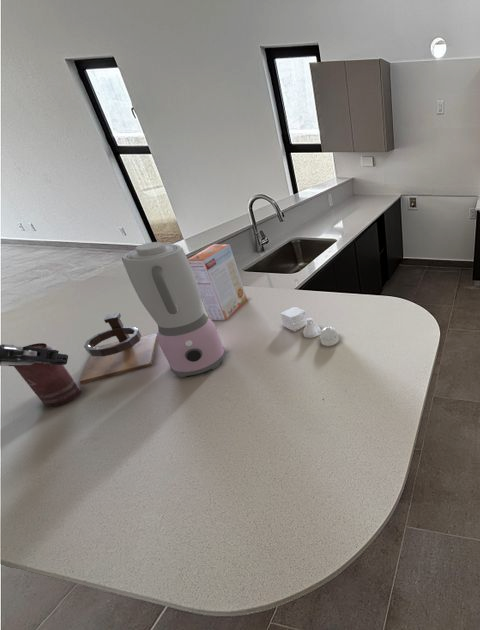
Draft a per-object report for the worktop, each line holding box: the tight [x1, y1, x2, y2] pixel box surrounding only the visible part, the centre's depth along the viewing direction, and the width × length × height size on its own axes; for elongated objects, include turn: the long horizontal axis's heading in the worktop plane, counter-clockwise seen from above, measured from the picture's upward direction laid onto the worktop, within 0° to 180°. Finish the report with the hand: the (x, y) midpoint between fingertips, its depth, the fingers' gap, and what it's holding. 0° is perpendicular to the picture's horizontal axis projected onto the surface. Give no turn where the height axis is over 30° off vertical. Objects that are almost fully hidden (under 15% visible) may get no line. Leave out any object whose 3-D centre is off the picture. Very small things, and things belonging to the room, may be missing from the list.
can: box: [12, 342, 82, 409], centre depth 72 cm, size 6×6×14 cm
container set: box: [280, 306, 340, 347], centre depth 97 cm, size 20×5×6 cm, turn 56°
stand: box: [78, 312, 158, 385], centre depth 86 cm, size 14×16×10 cm
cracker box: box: [187, 243, 248, 321], centre depth 105 cm, size 14×6×21 cm, turn 178°
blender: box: [121, 241, 227, 378], centre depth 77 cm, size 16×12×32 cm
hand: (45, 360), depth 72 cm, fingers open, 8 cm apart
